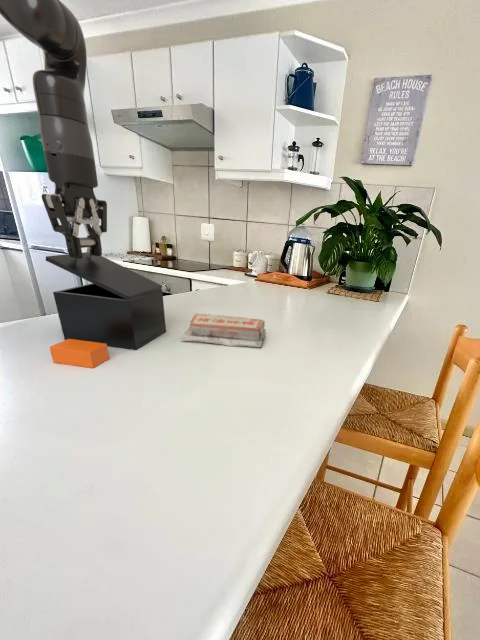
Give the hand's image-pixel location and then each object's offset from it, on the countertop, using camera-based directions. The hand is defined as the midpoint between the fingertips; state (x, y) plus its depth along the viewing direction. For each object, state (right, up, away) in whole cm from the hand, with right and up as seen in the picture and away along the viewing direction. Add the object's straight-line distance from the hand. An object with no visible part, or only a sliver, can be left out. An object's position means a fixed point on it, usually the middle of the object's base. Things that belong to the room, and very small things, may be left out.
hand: (86, 256), depth 64 cm
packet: (+3, -21, -6) cm, 22 cm away
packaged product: (+26, -15, +11) cm, 32 cm away
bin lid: (+4, -4, +1) cm, 5 cm away
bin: (+3, -15, +7) cm, 17 cm away
